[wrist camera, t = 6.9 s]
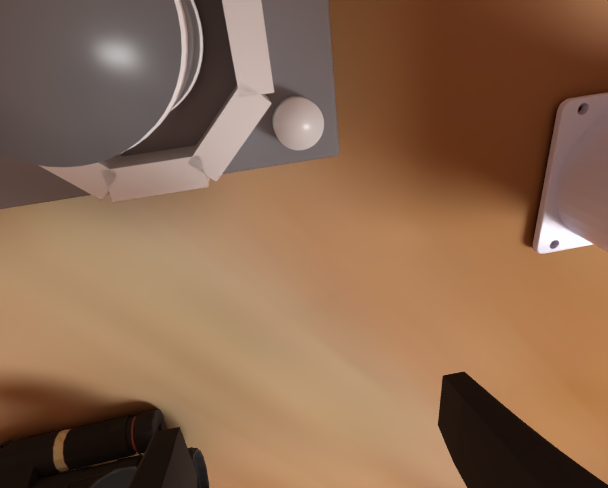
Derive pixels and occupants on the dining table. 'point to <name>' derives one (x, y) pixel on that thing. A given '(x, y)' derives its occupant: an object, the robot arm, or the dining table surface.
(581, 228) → the robot arm
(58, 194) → the camera body
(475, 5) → the dining table surface
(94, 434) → the night vision scope
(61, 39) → the lens
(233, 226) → the dining table surface
